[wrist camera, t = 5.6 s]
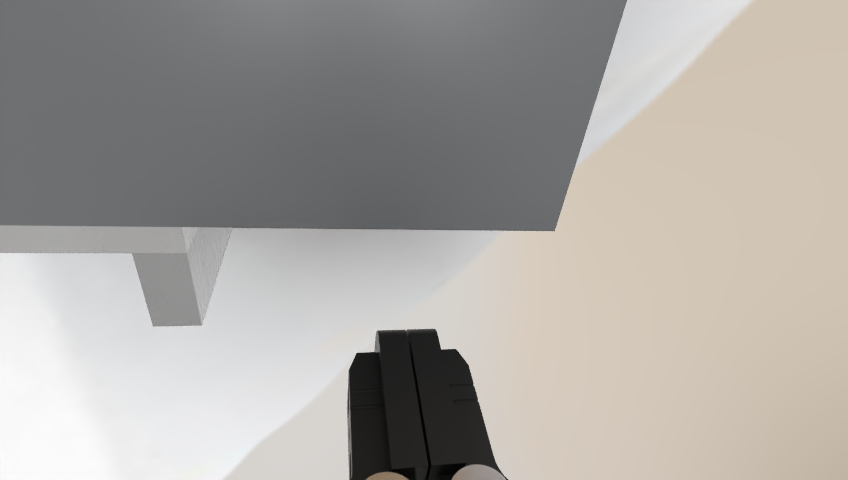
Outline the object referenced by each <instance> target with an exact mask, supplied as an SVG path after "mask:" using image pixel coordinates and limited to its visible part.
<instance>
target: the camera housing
mask: <svg viewBox="0 0 848 480" xmlns="http://www.w3.org/2000/svg"><path fill="white" fill-rule="evenodd" d="M626 2H627V0H0V225H21V226H118V227H214V228H311V229H408V230H505V231H511V230H513V231H555V228H556V225H557V222H558V218H559V215H560V212H561V209H562V206H563V203H564V199H565V196H566V193H567V190H568V187H569V183H570V180H571V177H572V174H573V171H574V167H575V164H576V161H577V158H578V155H579V151H580V148H581V145H582V142H583V139H584V136H585V132H586V129H587V126H588V123H589V120H590V116H591V113H592V110H593V107H594V104H595V100H596V97H597V94H598V91H599V88H600V85H601V81H602V78H603V75H604V72H605V69H606V65H607V62H608V59H609V56H610V53H611V49H612V46H613V43H614V40H615V37H616V33H617V30H618V27H619V24H620V21H621V18H622V14H623V11H624V8H625V5H626Z"/></svg>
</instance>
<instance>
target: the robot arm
mask: <svg viewBox="0 0 848 480" xmlns="http://www.w3.org/2000/svg"><path fill="white" fill-rule="evenodd" d="M347 414H348V415H347V418H348V451H349V480H508V479H507V478H506V477H505V476H504V475H503V474H502V473H501V471H500V470H499V468H498V466H497V464H496V462H495V459H494V456H493V452H492V449H491V445H490V441H489V438H488V435H487V431H486V427H485V423H484V420H483V416H482V412H481V409H480V405H479V403H478V398H477V395H476V391H475V388H474V386H473V380H472V376H471V373H470V369H469V365H468V364H467V363H466V361H465V360H464V359H463V358H462V356H461V355H460V354H459V352H458V351H457V350H456V349H448V350H441V348H440V343H439V339H438V335H437V331H436V330H435V329H417V330H416V329H414V330H407V331H405V330H383V331H377V332H376V341H375V352H370V353H357V354H356V356H355V358H354V360H353V362H352V365H351V367H350V369H349V379H348V401H347Z"/></svg>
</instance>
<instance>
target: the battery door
mask: <svg viewBox="0 0 848 480" xmlns="http://www.w3.org/2000/svg"><path fill="white" fill-rule="evenodd" d="M231 230H232V228H214V227H118V226H21V225H0V253H132V254H133V258H134V261H135V265H136V268H137V272H138V275H139V279H140V282H141V286H142V289H143V293H144V296H145V300H146V303H147V307H148V310H149V314H150V317H151V321H152V324H153V326H192V325H202V323H203V320H204V317H205V314H206V310H207V307H208V304H209V301H210V298H211V294H212V291H213V288H214V285H215V282H216V278H217V275H218V272H219V269H220V266H221V262H222V259H223V256H224V253H225V249H226V246H227V243H228V240H229V237H230V233H231Z"/></svg>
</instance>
